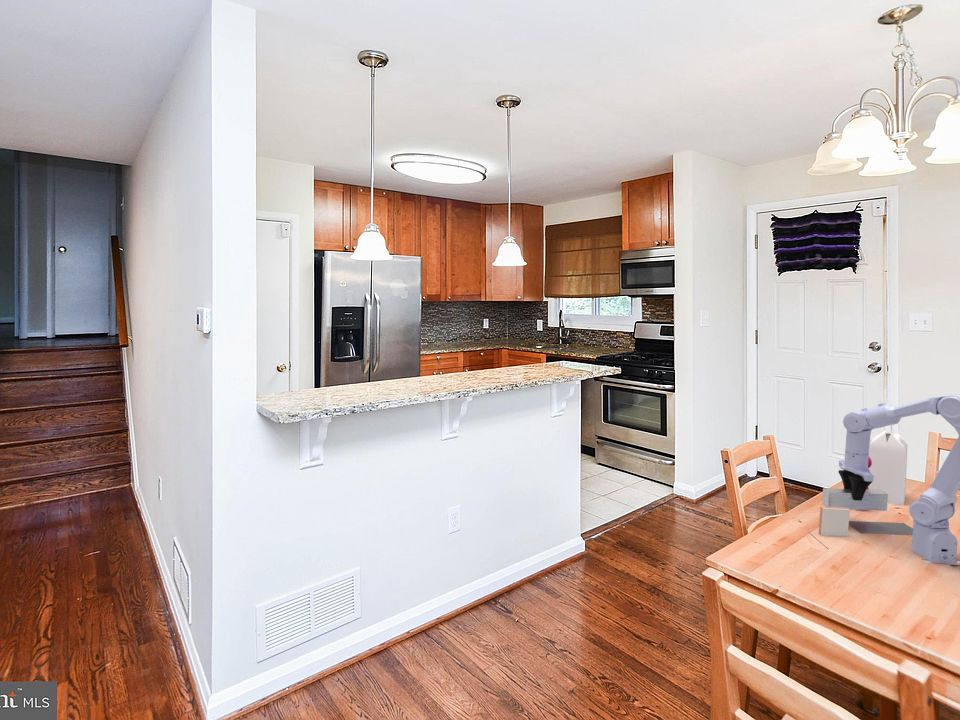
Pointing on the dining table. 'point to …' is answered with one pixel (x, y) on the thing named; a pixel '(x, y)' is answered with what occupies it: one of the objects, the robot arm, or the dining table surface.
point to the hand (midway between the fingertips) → (853, 497)
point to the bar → (845, 500)
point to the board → (881, 528)
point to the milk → (889, 465)
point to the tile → (834, 521)
